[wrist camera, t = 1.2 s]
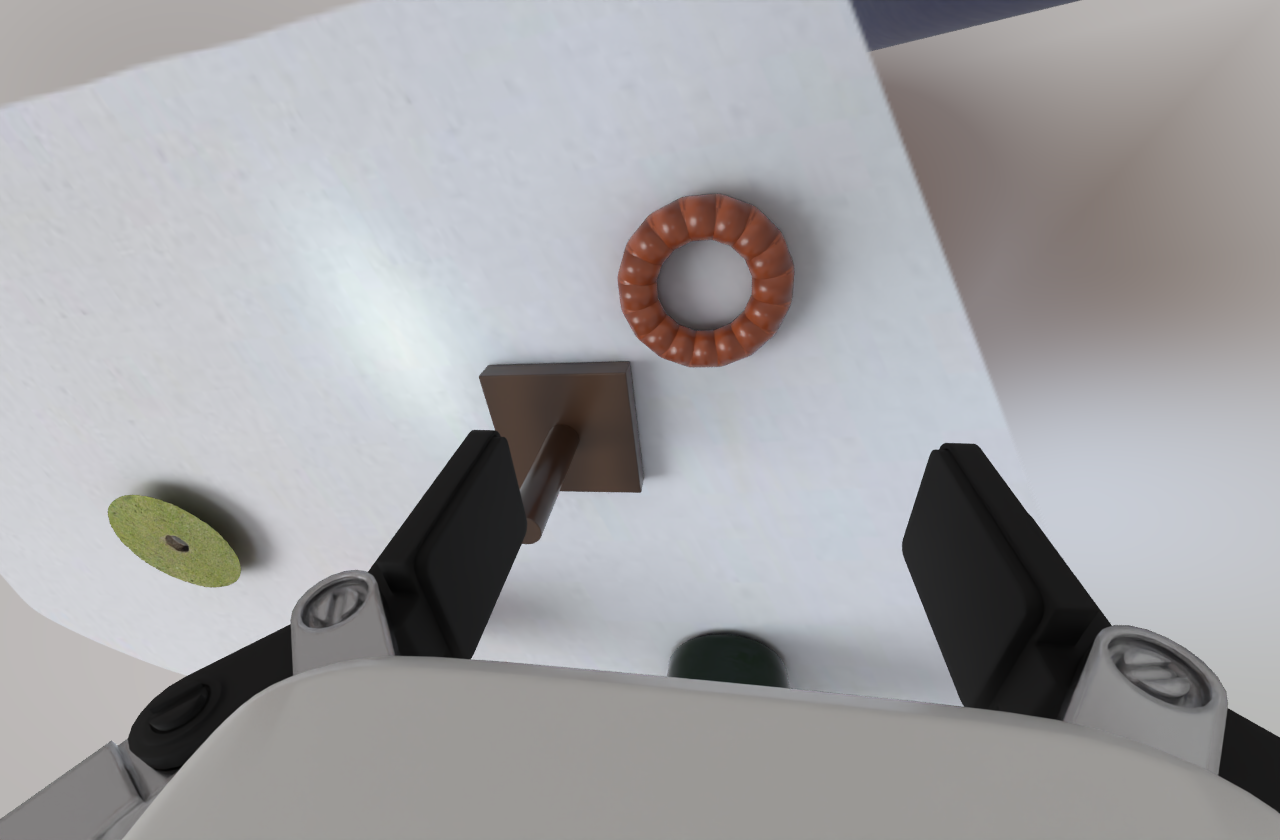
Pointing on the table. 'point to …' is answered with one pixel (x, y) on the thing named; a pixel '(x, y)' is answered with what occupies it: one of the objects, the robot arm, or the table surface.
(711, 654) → the dark green wine bottle
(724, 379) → the table surface
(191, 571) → the green disc with hole
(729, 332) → the ring
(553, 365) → the peg stand
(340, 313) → the table surface
